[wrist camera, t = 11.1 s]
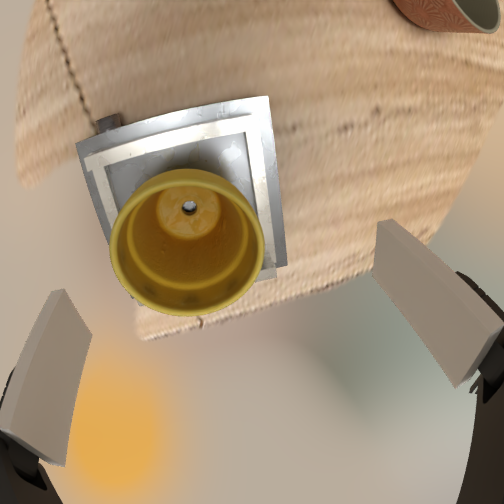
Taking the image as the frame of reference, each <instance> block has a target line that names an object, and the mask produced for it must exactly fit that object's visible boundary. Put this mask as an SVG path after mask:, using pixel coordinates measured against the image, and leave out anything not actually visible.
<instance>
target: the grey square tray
mask: <svg viewBox="0 0 504 504" xmlns="http://www.w3.org/2000/svg"><path fill="white" fill-rule="evenodd" d="M95 122H96V126H97V130H98V135H95V136H93V137H90V138H87V139H85V140H83V141H80V142H78V143H75V144H76V148H77V151H78V155H79V159H80V162H81V166H82V169H83V173H84V176H85V179H86V183H87V186H88V189H89V192H90V195H91V198H92V201H93V204H94V207H95V210H96V213H97V216H98V218H99V221H100V224H101V227H102V229H103V232H104V235H105V237H106V240H107V242H108V245H109V242H110V235H111V231H112V227H113V224H114V222H115V220H116V218H117V216H118V214H119V212H120V211H121V209H122V207H123V206H124V204H125V203H126V201H127V200H128V199H129V198H130V196H131V195H132V194H133V193H134V192H135V191H136V190H137V189H138V188H139V187H140V186H141V185H142V184H143V183H145V182H146V181H148V180H149V179H151V178H153V177H154V176H157V175H159V174H161V173H164V172H167V171H172V170H177V169H198V170H204V171H207V172H211V173H213V174H216V175H218V176H220V177H222V178H224V179H226V180H227V181H229V182H230V183H231V184H233V185H234V186H235V187H236V188H237V189H238V190H239V191H240V192H241V193H242V194H243V195H244V197H245V198H246V199H247V200H248V202H249V203H250V205H251V207H252V208H253V210H254V212H255V213H256V215H257V217H258V219H259V222H260V224H261V227H262V230H263V234H264V240H265V253H264V260H263V264H262V267H261V270H260V273H259V275H258V277H257V278H256V280H255V282H258V281H262V280H267V279H271V278H275V277H277V273H276V268H278V267H283V266H287V265H288V264H287V253H286V242H285V232H284V222H283V213H282V203H281V194H280V185H279V176H278V168H277V160H276V152H275V144H274V136H273V128H272V121H271V114H270V106H269V99H268V96H258V97H251V98H244V99H237V100H231V101H225V102H219V103H213V104H208V105H203V106H198V107H193V108H189V109H184V110H180V111H176V112H171V113H167V114H163V115H160V116H156V117H152V118H149V119H145V120H141V121H138V122H135V123H131V124H128V125H125V126H122V127H121V122H120V118H119V113H118V114H114V115H111V116H108V117H105V118H102V119H99V120H97V121H95ZM195 209H196V204H195V203H194V202H193V201H187V202H185V203H184V204H183V210H184V211H186V212H189V213H191V212H193V211H195ZM131 297H132V296H131ZM133 298H134V297H132V299H133ZM137 302H138V304H139V306H144V305H143V304H142V303H140V302H139V301H137Z"/></svg>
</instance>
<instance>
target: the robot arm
mask: <svg viewBox="0 0 504 504" xmlns="http://www.w3.org/2000/svg"><path fill="white" fill-rule="evenodd" d="M372 277H373V278H374V279H375V280H376V281H377V283H378V284H379V285H380V286H381V288H382V289H383V290H384V291H385V293H386V294H387V295H388V296H389V298H390V299H391V300H392V301H393V303H394V304H395V305H396V307H397V308H398V309H399V310H400V312H401V313H402V314H403V315H404V317H405V318H406V320H407V321H408V322H409V323H410V325H411V326H412V327H413V329H414V330H415V331H416V333H417V334H418V336H419V337H420V338H421V340H422V341H423V343H424V344H425V345H426V347H427V348H428V349H429V351H430V352H431V354H432V355H433V357H434V358H435V359H436V361H437V362H438V364H439V365H440V366H441V368H442V370H443V371H444V373H445V374H446V376H447V377H448V378H449V380H450V382H451V383H452V385H453V386H454V388H455V389H456V388H458V387H459V386H461V385H462V384H464V383H465V382H467V381H468V380H470V378H471V377H472V376H473V375H474V373H475V372H476V370H477V369H478V370H479V371H480V373H481V374H480V376H479V377H478V378H477V380H476V381H475V383H474V384H473V385H472V386H471V388H470V392H469V393H472V392H473V391H474V390H475V388H476V387H477V386H478V389H477V391H476V392H475V394H477V404H476V414H475V422H474V429H473V436H472V442H471V447H470V453H469V458H468V462H467V467H466V471H465V475H464V479H463V483H462V487H461V490H460V493H459V497H458V500H457V503H456V504H504V312H503V311H502V310H501V309H500V307H499V306H498V305H497V304H496V303H495V302H494V301H493V300H492V299H491V298H490V297H489V296H488V295H486V294H485V292H484V291H483V290H482V289H481V288H479V287H478V285H477V284H476V283H475V282H474V281H472V279H470V278H469V277H468V276H466V275H464V274H462V273H460V272H458V271H457V272H454V271H453V270H452V269H451V268H450V267H449V266H448V265H446V264H445V263H444V262H443V261H442V260H441V259H440V258H439V257H437V256H436V255H435V254H434V253H433V252H432V251H431V250H430V249H428V248H427V247H426V246H425V245H424V244H423V243H421V242H420V241H419V240H418V239H417V238H415V237H414V236H413V235H412V234H411V233H409V232H408V231H407V230H406V229H404V228H403V227H402V226H401V225H399V224H398V223H397V222H396V221H394V220H393V219H389V220H384V221H379V222H378V223H377V235H376V246H375V256H374V265H373V273H372ZM91 338H92V333H91V332H90V330H89V329H88V327H87V326H86V324H85V322H84V321H83V319H82V318H81V316H80V315H79V313H78V311H77V310H76V308H75V306H74V304H73V303H72V301H71V299H70V298H69V296H68V294H67V292H66V291H65V289H60V290H55V291H51V293H50V295H49V297H48V299H47V300H46V302H45V304H44V306H43V308H42V310H41V312H40V314H39V316H38V318H37V320H36V322H35V324H34V326H33V328H32V330H31V332H30V334H29V336H28V339H27V341H26V343H25V346H24V348H23V350H22V352H21V355H20V357H19V360H18V362H17V365H16V366H15V368H14V369H13V370H12V372H11V373H10V376H9V378H8V381H7V383H6V387H5V389H4V392H3V396H2V398H1V401H0V504H63V503H62V501H61V499H60V498H59V496H58V494H57V492H56V490H55V489H54V487H53V485H52V483H51V481H50V479H49V477H48V475H47V473H46V471H45V469H44V467H43V466H42V465H41V464H40V463H38V462H39V458H41V459H42V460H44V461H46V462H47V463H49V464H52V465H57V466H62V467H65V462H66V454H67V446H68V440H69V433H70V427H71V422H72V416H73V410H74V406H75V401H76V396H77V392H78V388H79V383H80V379H81V375H82V371H83V367H84V363H85V360H86V356H87V352H88V349H89V345H90V342H91Z"/></svg>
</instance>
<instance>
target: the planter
mask: <svg viewBox="0 0 504 504" xmlns="http://www.w3.org/2000/svg"><path fill="white" fill-rule="evenodd" d="M393 1H394V3H395V4H396V6H397V7H398V8H399V9H400V11H401V12H402V13H403V14H404V15H405V16H406V17H407V18H408V19H410V20H411V21H412V22H414V23H415V24H417V25H418V26H420V27H422V28H425V29H428V30H432V31H438V32H456V33H486V34H492V33H494V32H496V31H497V30H498V28H499V25H500V19H501V15H500V7H499V3H498V0H393Z"/></svg>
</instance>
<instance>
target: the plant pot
mask: <svg viewBox="0 0 504 504" xmlns="http://www.w3.org/2000/svg"><path fill="white" fill-rule="evenodd" d="M187 201H193V202H194V203H195V204H196V209H195V211H193V212H191V213H189V212H186V211H184V210H183V204H184V203H185V202H187ZM109 250H110V259H111V263H112V266H113V270H114V272H115V274H116V276H117V278H118V280H119V282H120V283H121V284H122V286H123V287H124V288H125V289H126V291H128V293H129V294H130V295H131V296H132V297H134V298H135V299H136V300H137V301H139V302H140V303H142V304H143V305H145V306H147V307H148V308H151V309H153V310H155V311H158V312H161V313H164V314H168V315H174V316H199V315H205V314H209V313H212V312H215V311H218V310H221V309H223V308H225V307H227V306H229V305H230V304H232V303H234V302H235V301H236V300H238V299H239V298H240V297H241V296H243V295H244V294H245V293H246V292H247V291H248V289H249V288H250V287H251V286H252V285H253V283H254V282H255V280H256V278H257V277H258V275H259V273H260V270H261V267H262V264H263V260H264V253H265V240H264V234H263V230H262V227H261V224H260V222H259V219H258V217H257V215H256V213H255V212H254V210H253V208H252V207H251V205H250V203H249V202H248V200H247V199H246V198H245V197H244V195H243V194H242V193H241V192H240V191H239V190H238V189H237V188H236V187H235V186H234V185H233V184H231V183H230V182H229V181H227V180H226V179H224V178H222V177H220V176H218V175H216V174H213V173H211V172H207V171H204V170H198V169H177V170H172V171H167V172H164V173H161V174H159V175H157V176H154V177H153V178H151V179H149V180H148V181H146V182H145V183H143V184H142V185H141V186H140V187H139V188H138V189H137V190H136V191H135V192H134V193H133V194H132V195H131V196H130V198H129V199H128V200H127V201H126V203H125V204H124V206H123V207H122V209H121V211H120V212H119V214H118V216H117V218H116V220H115V222H114V224H113V227H112V231H111V235H110V242H109Z"/></svg>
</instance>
